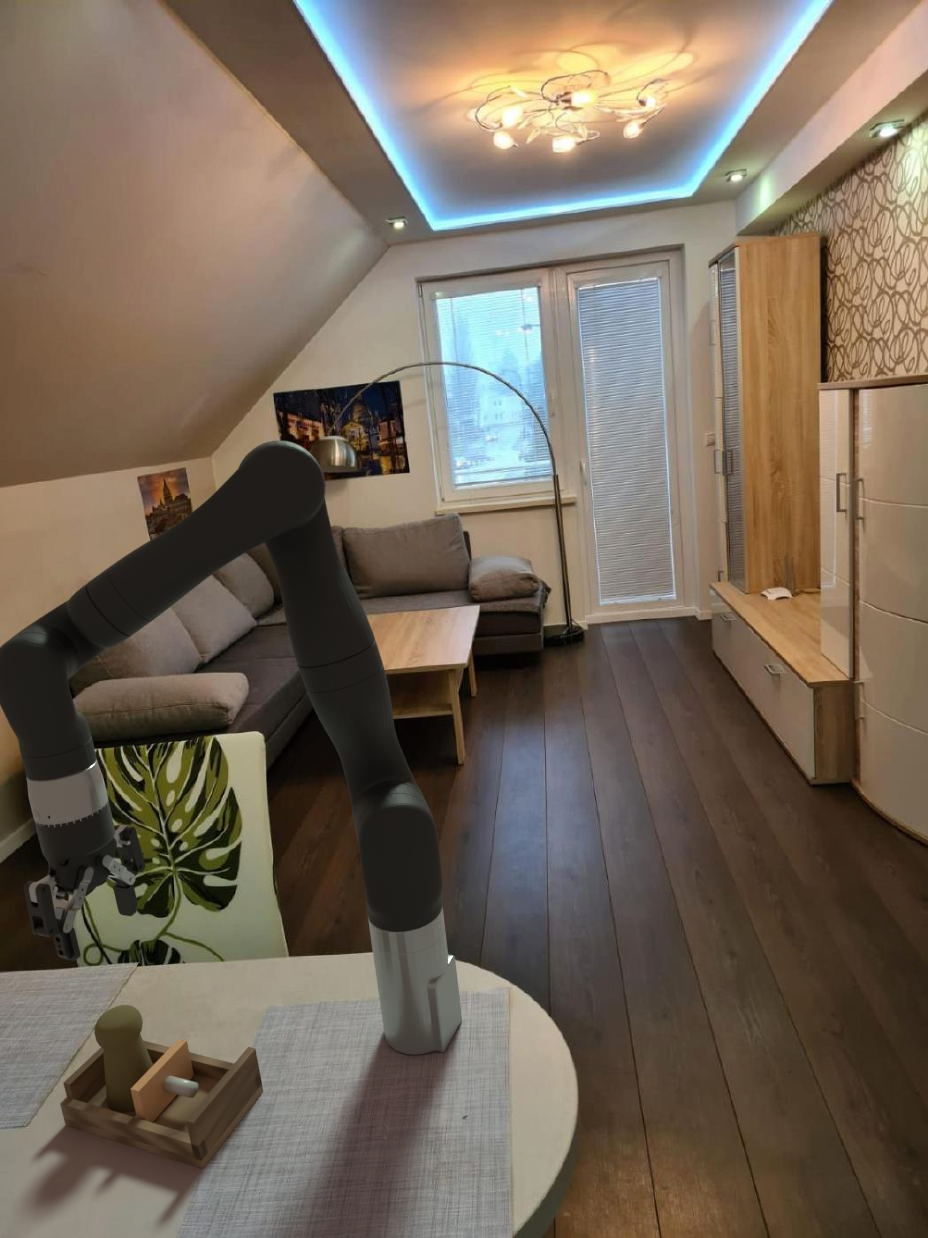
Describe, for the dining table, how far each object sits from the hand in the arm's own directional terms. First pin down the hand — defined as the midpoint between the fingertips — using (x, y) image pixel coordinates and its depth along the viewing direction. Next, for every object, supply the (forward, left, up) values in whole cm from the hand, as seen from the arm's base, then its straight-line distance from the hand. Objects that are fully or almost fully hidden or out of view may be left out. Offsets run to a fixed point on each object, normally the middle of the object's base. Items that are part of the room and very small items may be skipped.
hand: (101, 935), depth 96 cm
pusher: (-7, 0, -21) cm, 22 cm away
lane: (-5, 0, -22) cm, 23 cm away
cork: (0, +1, -21) cm, 21 cm away
